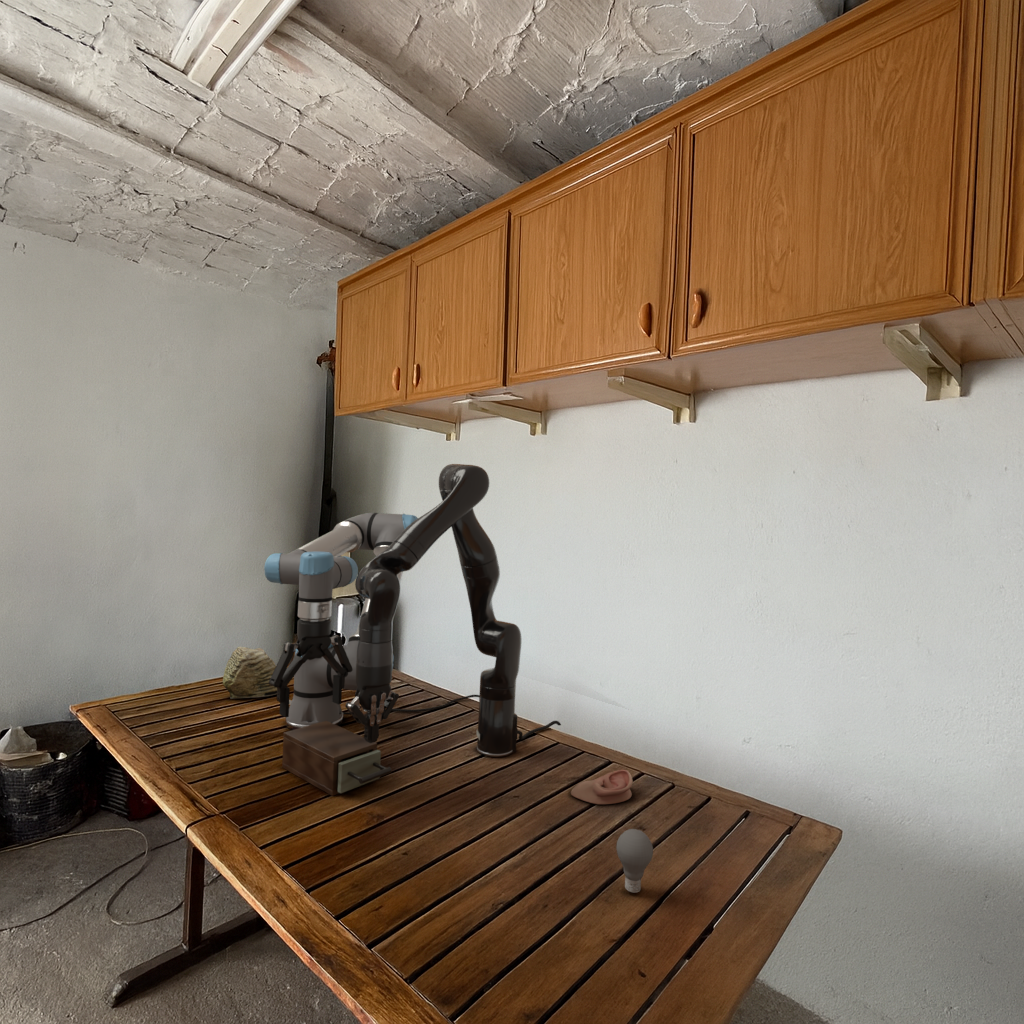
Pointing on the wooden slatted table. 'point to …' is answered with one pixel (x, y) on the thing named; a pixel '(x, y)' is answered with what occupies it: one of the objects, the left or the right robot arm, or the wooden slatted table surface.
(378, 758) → the drawer
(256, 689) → the fossil
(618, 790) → the anatomical model
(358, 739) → the cabinet
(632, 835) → the light bulb
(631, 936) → the wooden slatted table surface
